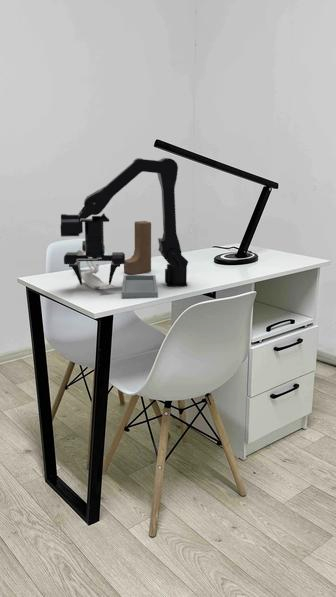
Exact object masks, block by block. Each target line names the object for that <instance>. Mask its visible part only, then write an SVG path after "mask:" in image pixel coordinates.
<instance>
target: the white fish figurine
mask: <svg viewBox="0 0 336 597" xmlns="http://www.w3.org/2000/svg"><path fill="white" fill-rule="evenodd" d="M81 276H82V281H83V282H84V283H85V284H86V286H88V287H89V288H91V289H93V290H96V289H98V290H108V289H109V290H110V289H114V288H116V286H115V285H113V284H110V285H109V284H107V283H105V282H104V281H103V280H102V279H101V278H100V277H98V276H96V275H95V274H94V273H92V272H90V271H89V272H88V271H81Z"/></svg>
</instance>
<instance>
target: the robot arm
mask: <svg viewBox="0 0 336 597" xmlns="http://www.w3.org/2000/svg"><path fill="white" fill-rule="evenodd" d="M178 170H179V166H178V163H177V162H176V161H175V159H172V158H170V157H169V158H168V157H164V158H161V159H159V160H155V159H143V158H140V157H139V158H135V159H134V160H133V161H132V163H131V164H129V165H128V166H127V167H125V169H123V170H122V171H121V172H120V173H119V174H118V175H116V176H115V177H114V178H113V179H111V181H109V183H106V185H105V186H102V187H101V188H100V189H97V190H96V191H94V192H92V193H91V194H89V195H87V196H86V198H84V201H83V205H84V206H83V207H82V208H81V210H80V211H79V213H78V214H66V213H64V214H63V213H61V214H60V237H62V238H63V237H65V238H66V237H80V235H81V234H83V233H84V236H85V237H84V240H82V242H81V243H82V245H81V246H82V250H83V251H86V252H85V255H78V252H77V251H75V252H74V251H73V252H72V251H71V252H70V251H68V252H66V253H65V254H64V256H63V265H68V267H69V268H71V269H72V270H73V272H74V273H75V275H76V277H77V280H78V283H79V284H80V286H82V285H83V279H82V276H81V272H82V270H81V262H86V261H88V262H91V261H92V262H111V263H110V267H109V270H110V271H109V278H108V285H112V280H113V278H114V277H113V276H114V274H115V272H116V269H117V268H118V267H119V268H120V267H121V265H124V264H125V260H126V254H125V253H124V252H123V251H122V252H119V251H118V252H116V251H114V252H112V254H110V255H109V254H106V253H105V252H106V251H105V249H106V248H105V240H104V236H105V235H104V233H105V232H104V223H109V222H110V218H109V217H108V216H106V214H105V212H104V213H102V212H103V211H104V209H105V208H106V207H107V205H108V204H109V203H110V201H111V200H112V199H113V197H114V196H116V195H117V194H118V193H119V192H120V191H121V190H122V189H123V188H124V187H126V186H127V185H128V184H130V182H131V181H133V180H134V179H135V178H136V177H137V176H138V175H140V174H141V173H142V172H144V173H155V174H157V179H158V182H159V184H160V190H161V205H162V207H161V208H162V225H163V229H162V230H163V232H162V238H160V237H158V238H157V240H158V241H157V242H158V251H159V253H160V254H161V257H163V259H165V261H166V262H167V264H166V268H164V283H165V284H166V286H167V287H173V286H174V287H176V286H177V287H183V286H184V287H187V286H188V282H187V274H188V270H187V269H188V265H189V261H188V259H186V258H185V256H183V255H182V250H181V244H180V240H179V237H178V234H177V220H176V217H177V216H176V197H175V196H176V195H175V188H176V183H177V179H178V177H177V176H178ZM101 213H102V214H101ZM99 214H101V215H99ZM90 217H91V218H90ZM83 223H84V225H83ZM83 226H84V228H83ZM83 231H84V232H83ZM89 257H91V258H89ZM79 261H81V262H79Z"/></svg>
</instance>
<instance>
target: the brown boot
mask: <svg viewBox="0 0 336 597" xmlns="http://www.w3.org/2000/svg"><path fill="white" fill-rule="evenodd" d="M151 272H152V222H151V221H147V220H140V221H138V220H137V221H134V251H133V255H132V256H131V257H130V258H127V259H125V264H123V273H124V274H127V275H140V274H146V273H151ZM139 273H140V274H139Z"/></svg>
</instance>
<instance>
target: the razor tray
mask: <svg viewBox="0 0 336 597" xmlns="http://www.w3.org/2000/svg"><path fill="white" fill-rule="evenodd" d="M121 288H122V289H121V299H122V300H124V299H145V298H146V299H149V298H150V299H151V298H152V299H153V298H158V297H159V295H158V294H159V293H158V285H157V277H156V275H154V274H153V275H151V274H147V275H145V274H142V275H141V274H132V275H129V274H127V275H126V274H125V275H123V277H122V286H121Z"/></svg>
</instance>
